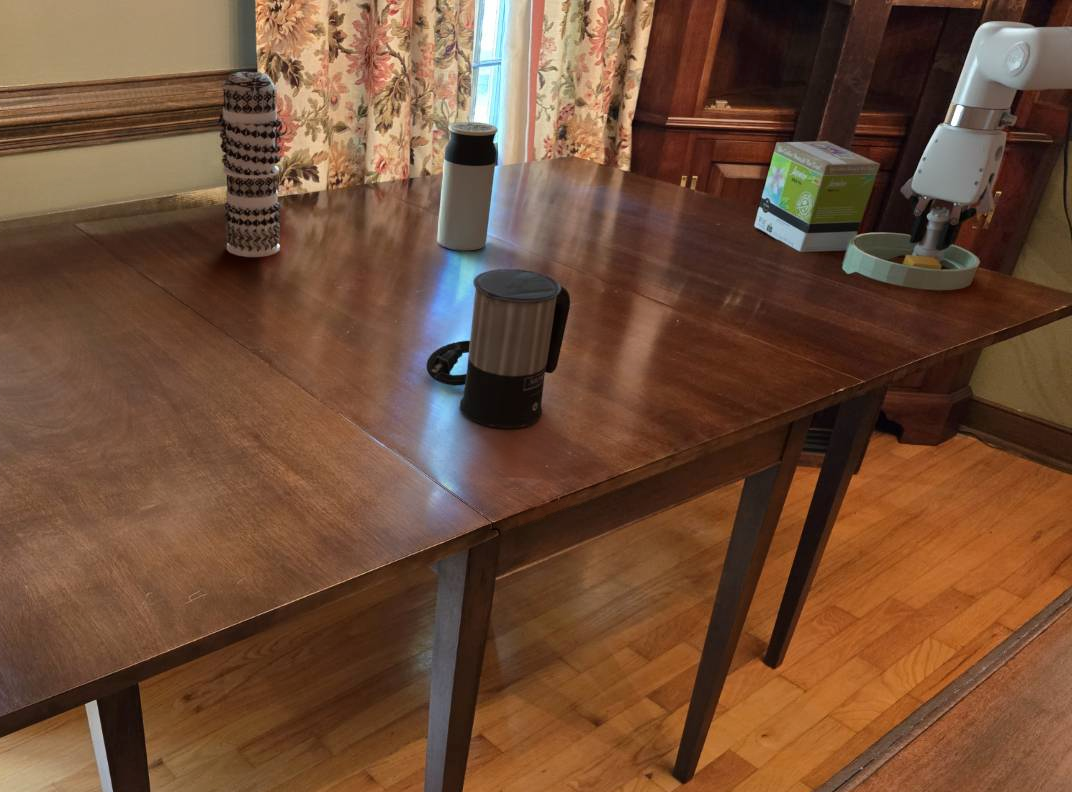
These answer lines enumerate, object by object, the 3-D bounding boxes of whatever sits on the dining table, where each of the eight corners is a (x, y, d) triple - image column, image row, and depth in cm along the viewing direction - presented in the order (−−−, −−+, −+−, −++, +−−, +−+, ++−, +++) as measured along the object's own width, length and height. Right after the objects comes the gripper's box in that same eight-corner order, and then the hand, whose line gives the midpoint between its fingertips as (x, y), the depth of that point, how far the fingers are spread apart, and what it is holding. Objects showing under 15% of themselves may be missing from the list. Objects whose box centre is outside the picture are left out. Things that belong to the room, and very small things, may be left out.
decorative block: (931, 292, 144) (942, 265, 142) (903, 289, 145) (913, 263, 142) (924, 283, 147) (934, 257, 145) (896, 280, 148) (906, 254, 146)
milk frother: (525, 438, 103) (546, 305, 94) (392, 404, 108) (401, 275, 100) (563, 388, 113) (585, 265, 105) (440, 359, 119) (451, 240, 110)
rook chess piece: (909, 251, 153) (922, 204, 148) (941, 251, 152) (955, 203, 147) (912, 265, 150) (925, 217, 145) (945, 265, 149) (959, 217, 144)
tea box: (750, 228, 170) (774, 139, 162) (801, 226, 172) (827, 139, 164) (798, 255, 158) (827, 162, 150) (852, 254, 160) (884, 161, 152)
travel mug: (488, 252, 154) (502, 133, 143) (438, 250, 153) (449, 131, 143) (482, 237, 160) (496, 122, 150) (435, 235, 160) (445, 120, 150)
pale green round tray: (988, 285, 149) (1000, 256, 147) (934, 309, 140) (946, 279, 137) (875, 253, 161) (885, 226, 158) (818, 272, 151) (827, 244, 149)
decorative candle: (260, 262, 146) (256, 82, 132) (212, 250, 150) (203, 74, 136) (294, 246, 152) (294, 74, 138) (247, 235, 156) (242, 66, 142)
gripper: (1047, 126, 136) (994, 255, 146) (929, 107, 146) (888, 228, 157) (1025, 131, 132) (973, 263, 142) (906, 111, 142) (865, 235, 153)
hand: (929, 244), depth 149 cm, fingers closed on rook chess piece, 3 cm apart
